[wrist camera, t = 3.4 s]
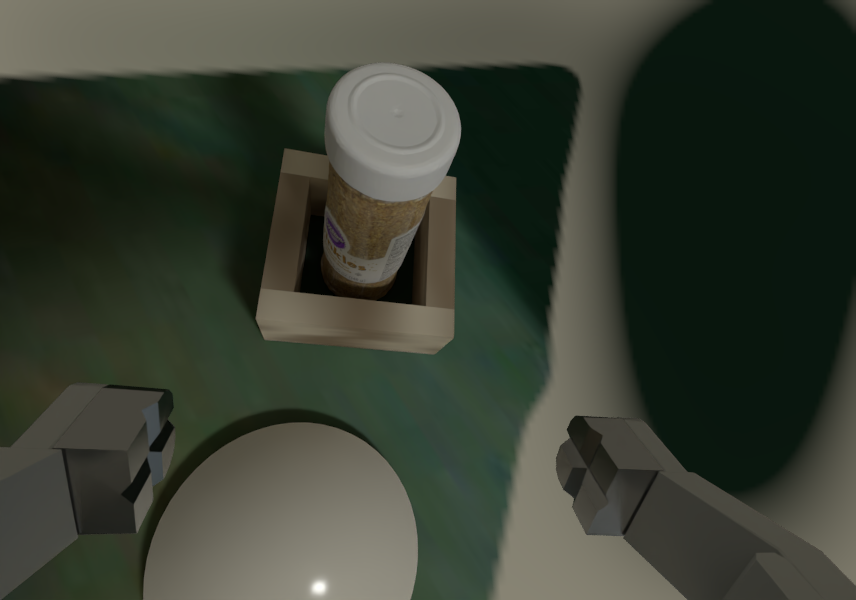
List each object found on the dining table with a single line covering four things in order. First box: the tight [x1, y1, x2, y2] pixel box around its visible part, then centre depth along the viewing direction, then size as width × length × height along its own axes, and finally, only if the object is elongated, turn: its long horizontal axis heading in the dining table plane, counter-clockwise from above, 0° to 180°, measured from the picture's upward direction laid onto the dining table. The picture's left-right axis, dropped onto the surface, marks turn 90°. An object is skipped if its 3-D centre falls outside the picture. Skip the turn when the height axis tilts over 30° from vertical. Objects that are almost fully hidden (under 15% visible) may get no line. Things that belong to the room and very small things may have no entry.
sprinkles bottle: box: [321, 63, 461, 301], centre depth 21 cm, size 5×5×14 cm
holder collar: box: [256, 148, 456, 354], centre depth 25 cm, size 10×10×4 cm
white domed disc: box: [143, 422, 418, 600], centre depth 21 cm, size 12×12×1 cm
